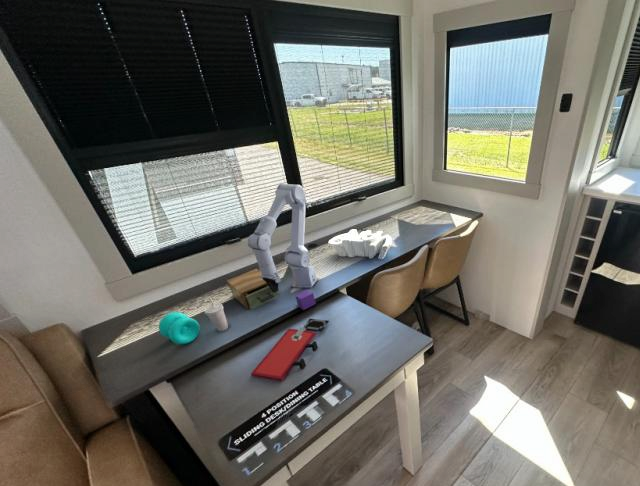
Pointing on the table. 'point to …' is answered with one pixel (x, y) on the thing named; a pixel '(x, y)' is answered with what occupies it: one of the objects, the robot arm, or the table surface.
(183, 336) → the turquoise spool
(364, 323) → the table surface
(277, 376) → the red board with handle
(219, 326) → the smoothie
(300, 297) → the purple box
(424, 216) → the table surface
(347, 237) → the wavy white extrusion
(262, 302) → the drawer
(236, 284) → the cabinet
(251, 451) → the table surface
